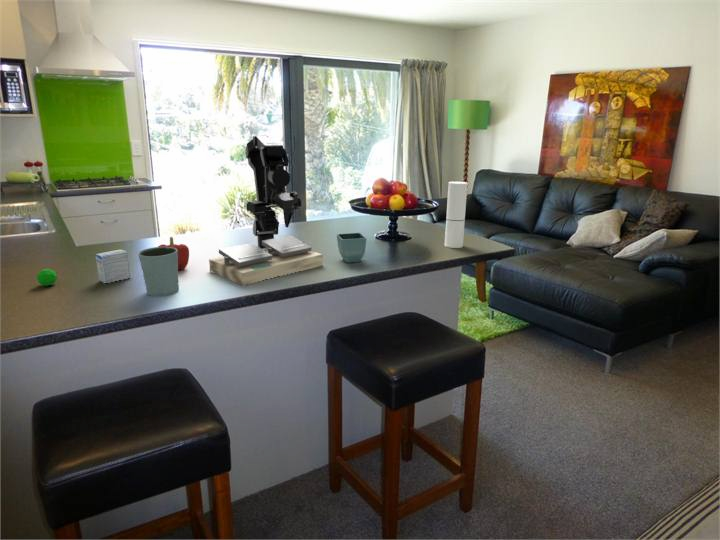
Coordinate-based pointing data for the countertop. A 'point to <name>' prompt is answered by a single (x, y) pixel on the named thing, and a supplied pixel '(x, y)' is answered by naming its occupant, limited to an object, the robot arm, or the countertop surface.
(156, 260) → the grey-green cup
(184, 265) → the vegetable
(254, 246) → the rocker left
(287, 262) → the switch unit
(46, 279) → the polyhedron
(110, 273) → the medicine box
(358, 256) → the flower pot
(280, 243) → the rocker right
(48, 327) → the countertop surface
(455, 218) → the white tall block
